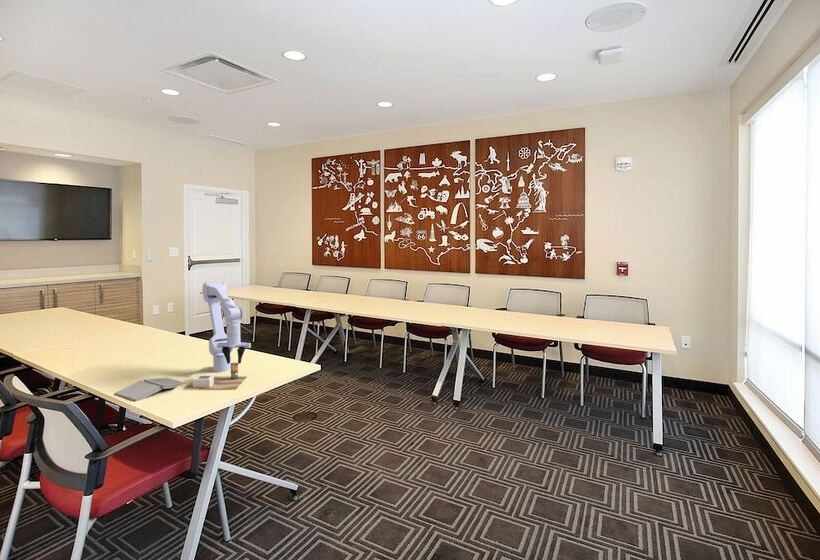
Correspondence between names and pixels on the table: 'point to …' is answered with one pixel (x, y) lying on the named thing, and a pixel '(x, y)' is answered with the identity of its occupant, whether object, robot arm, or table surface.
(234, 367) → the copper and grey cylinder
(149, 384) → the grey bent flat piece
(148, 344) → the table surface
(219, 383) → the subfloor
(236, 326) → the robot arm
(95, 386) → the table surface
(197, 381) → the white open box
